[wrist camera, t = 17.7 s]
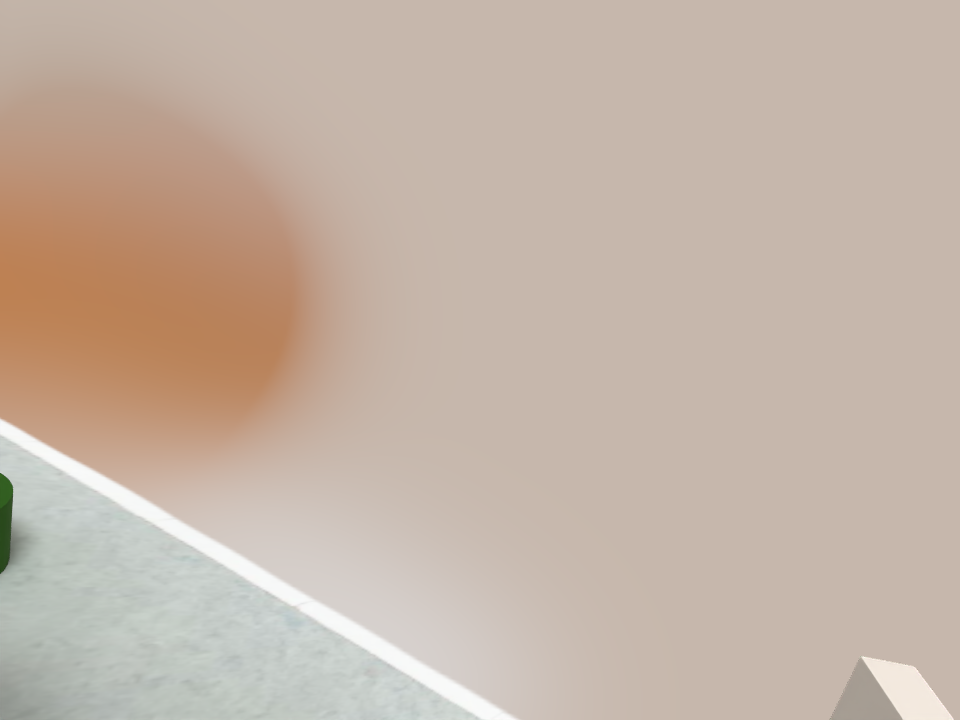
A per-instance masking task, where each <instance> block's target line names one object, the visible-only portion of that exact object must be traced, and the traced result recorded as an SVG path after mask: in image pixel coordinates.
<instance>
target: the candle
mask: <svg viewBox="0 0 960 720" xmlns="http://www.w3.org/2000/svg"><path fill="white" fill-rule="evenodd" d="M12 503H13V486H12V484H11V482H10V481H9V479H8V478H6V477H5V476H4V475H3V474H1V473H0V574H1V573H2V572H3V571H4V569H5V567H6V566H7V564H8V561H9V556H10V539H11V521H12Z"/></svg>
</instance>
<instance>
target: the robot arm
mask: <svg viewBox="0 0 960 720" xmlns="http://www.w3.org/2000/svg"><path fill="white" fill-rule="evenodd" d="M830 720H954V719H953V718H952V716H951V715H950V714H949V712H948V711H947V709H946V708H945V707H944V706H943V704H942V703H941V702H940V700H939V699H938V698H937V696H936V695H935V694H934V692H933V691H932V689H931V688H930V687H929V685H928V684H927V683H926V681H925V680H924V679H923V677H922V676H921V675H920V673H919V672H918V671H917V669H916V668H915V667H914V666H909V665H904V664H899V663H894V662H889V661H883V660H878V659H873V658H868V657H863V656H860V658H859V660H858V662H857V665H856V667H855V669H854V671H853V673H852V675H851V677H850V679H849V681H848V683H847V685H846V687H845V690H844V691H843V693H842V695H841V698H840V700H839V702H838V704H837V706H836V708H835V710H834V712H833V714H832V716H831V718H830Z"/></svg>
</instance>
